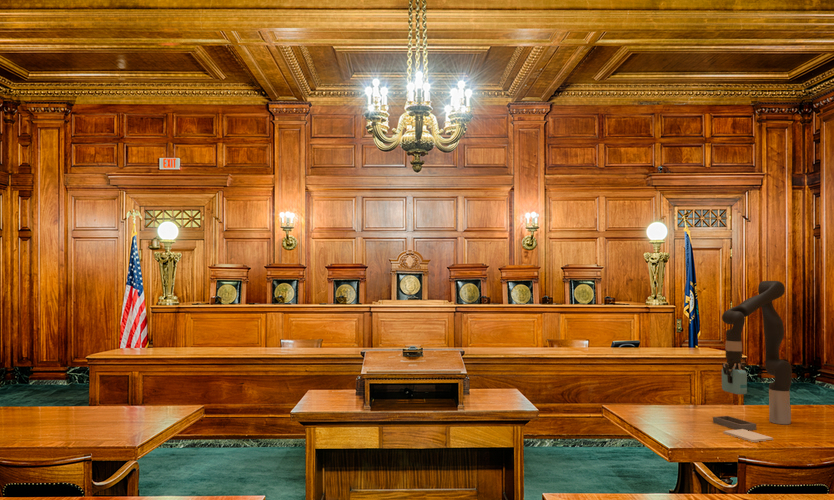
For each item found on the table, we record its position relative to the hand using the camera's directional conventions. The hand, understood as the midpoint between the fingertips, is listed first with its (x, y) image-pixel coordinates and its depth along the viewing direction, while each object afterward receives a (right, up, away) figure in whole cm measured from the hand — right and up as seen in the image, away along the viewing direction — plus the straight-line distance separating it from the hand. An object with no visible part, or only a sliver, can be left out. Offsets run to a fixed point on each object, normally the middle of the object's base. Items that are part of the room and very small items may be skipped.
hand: (734, 382), depth 293 cm
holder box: (-1, -22, -1) cm, 22 cm away
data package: (0, -5, 0) cm, 5 cm away
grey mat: (-5, -21, -21) cm, 30 cm away
